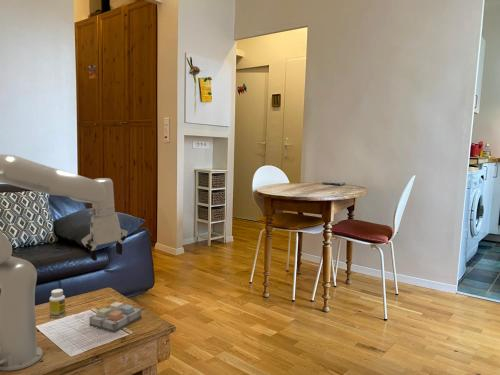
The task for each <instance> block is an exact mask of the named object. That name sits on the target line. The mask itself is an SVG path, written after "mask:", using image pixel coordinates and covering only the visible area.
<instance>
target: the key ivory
mask: <svg viewBox="0 0 500 375" xmlns="http://www.w3.org/2000/svg"><path fill="white" fill-rule="evenodd" d="M123 305H124V303H122V302H119V301H118V302H117V301H115V302H113V303H111V304H109V308H110V309H111V311H115V310H116V311H120V310H121V307H123Z"/></svg>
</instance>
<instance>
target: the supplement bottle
mask: <svg viewBox="0 0 500 375" xmlns="http://www.w3.org/2000/svg"><path fill="white" fill-rule="evenodd" d="M50 294H51V296H50V297H49V317H50V318H61V317H64V316H65V315H66V295H64V290H63V289H62V288H56V289H53V290H51V293H50Z"/></svg>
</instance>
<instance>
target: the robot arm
mask: <svg viewBox="0 0 500 375" xmlns="http://www.w3.org/2000/svg"><path fill="white" fill-rule="evenodd" d="M1 183H2V184H7V185H11V186H14V187H18V188H22V189H26V190H30V191H34V192H38V193H41V194H45V195H50V196H60V197H61V196H62V197H68V198H69V199H71V200H72V201H74V202H79V203H89V204H92V206H91V207H92V208H91V209H92V210H89V211H88V214H89V215H92V216H91V217H90V218H91V219H90V226H89V232H90V233H89V234H87V235H86V236H85V237H83V238H82V239H81V243H82V244H83V245H84V247H85V248H87V249H88V250H89V257H90V259H91V260H92V261H94V262H96V261H97V260H98V257H97V256H98V254H97V250H96V248H97V246H101V245H106V244H110V243H114V242H115V253H116V254H117V255H122V254H123V253H122V252H123V244H124V242H125V240H126V239H127V235H128V233H129V232H128V230H126V229H123V228H121V224H120V219H119V216H118V213H115V212H116V211H115V210H116V208H115V194H114V192H115V191H114V181H113V180H112V179H111V178H108V177H103V178H101V177H99V178H94V179H92V178H89V177H86V176H82V175H79V174H76V173H73V172H72V173H71V172H68V171H65V170H61V169H58V168H55V167H52V166H47V165H44V164H41V163H38V162H36V161H32V160H30V159H28V158H24V157H20V156H16V155H12V154H0V184H1ZM88 241H90V244H89V242H88ZM12 253H13V246H12V244H11V242H10V240H9V238H8V237H7V236H6V235H5V234H4V233H3V231H2V230H1V229H0V371H5V372H6V371H7V372H8V371H9V372H10V371H12V372H13V371H19V370H22V369H25V368H27V367H30V366H32V365H35V363H37V362H39V361H40V359H42V357H43V354H44V353H43V349H42V348H41V347H39V346H38V344H37V327H36V326H37V324H36V306H35V304H36V303H35V301H36V300H35V298H36V296H35V294H36V293H35V291H36V285H37V280H38V279H37V278H38V274H37V273H38V272H37V269H36V267H35V266H34V264H32V262H30V261H28V260H26V259H23V258H20V257H17V256H12V255H13V254H12Z"/></svg>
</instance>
